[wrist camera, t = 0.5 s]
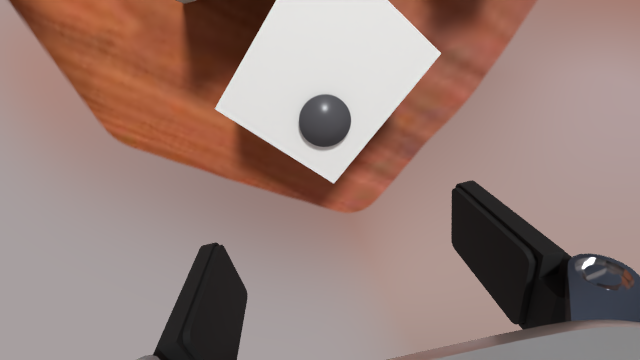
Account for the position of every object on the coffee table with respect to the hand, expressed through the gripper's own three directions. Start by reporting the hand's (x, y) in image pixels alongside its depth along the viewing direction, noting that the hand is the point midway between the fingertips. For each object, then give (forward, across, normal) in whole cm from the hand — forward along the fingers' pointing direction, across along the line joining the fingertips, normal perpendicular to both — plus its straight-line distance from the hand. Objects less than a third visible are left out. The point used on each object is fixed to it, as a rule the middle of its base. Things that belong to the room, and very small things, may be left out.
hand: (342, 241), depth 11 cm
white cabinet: (+28, -2, -3) cm, 28 cm away
